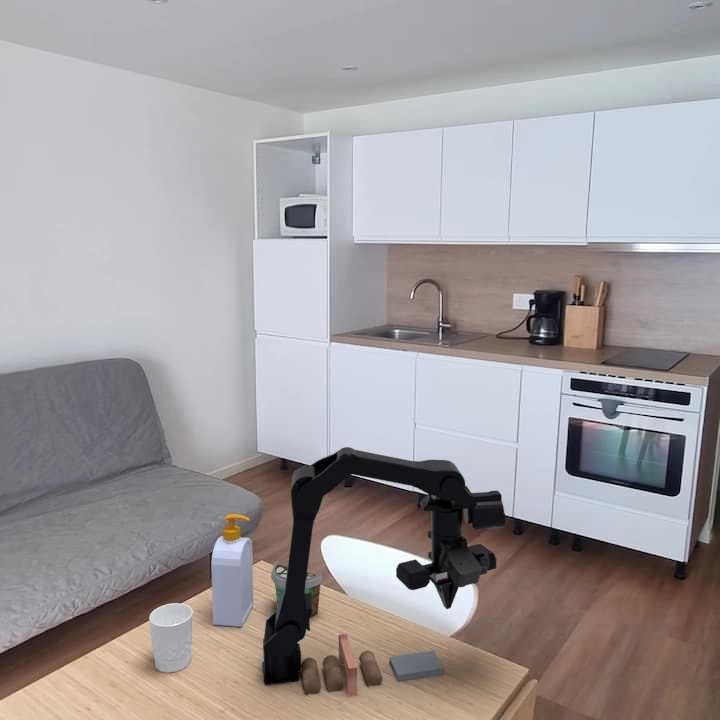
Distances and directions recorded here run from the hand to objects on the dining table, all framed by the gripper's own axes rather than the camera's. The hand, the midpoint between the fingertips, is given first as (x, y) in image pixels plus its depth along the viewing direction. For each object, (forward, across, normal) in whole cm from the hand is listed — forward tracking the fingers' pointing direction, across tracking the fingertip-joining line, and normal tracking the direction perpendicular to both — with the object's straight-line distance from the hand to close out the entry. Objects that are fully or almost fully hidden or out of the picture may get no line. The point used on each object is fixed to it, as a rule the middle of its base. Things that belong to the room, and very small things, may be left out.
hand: (447, 607), depth 123 cm
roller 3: (+11, -14, +3) cm, 18 cm away
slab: (+12, -6, +1) cm, 14 cm away
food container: (+11, -22, +28) cm, 38 cm away
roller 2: (+8, -22, +5) cm, 24 cm away
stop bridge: (+11, -19, +4) cm, 23 cm away
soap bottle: (+11, -33, +33) cm, 48 cm away
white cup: (+10, -48, +22) cm, 54 cm away
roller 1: (+11, -26, +6) cm, 29 cm away
